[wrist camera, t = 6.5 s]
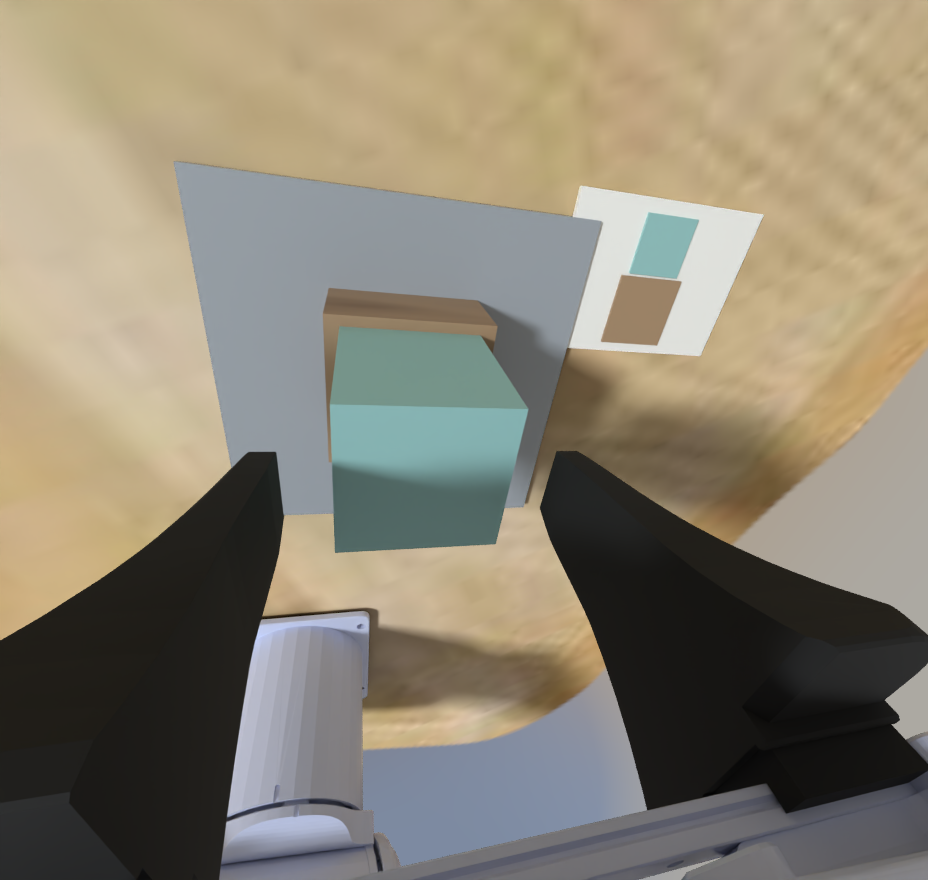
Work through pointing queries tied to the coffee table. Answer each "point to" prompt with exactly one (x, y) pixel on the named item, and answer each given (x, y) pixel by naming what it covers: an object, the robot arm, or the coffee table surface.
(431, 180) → the coffee table surface
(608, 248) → the tile
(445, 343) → the teal brick
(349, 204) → the build plate
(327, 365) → the walnut brick
